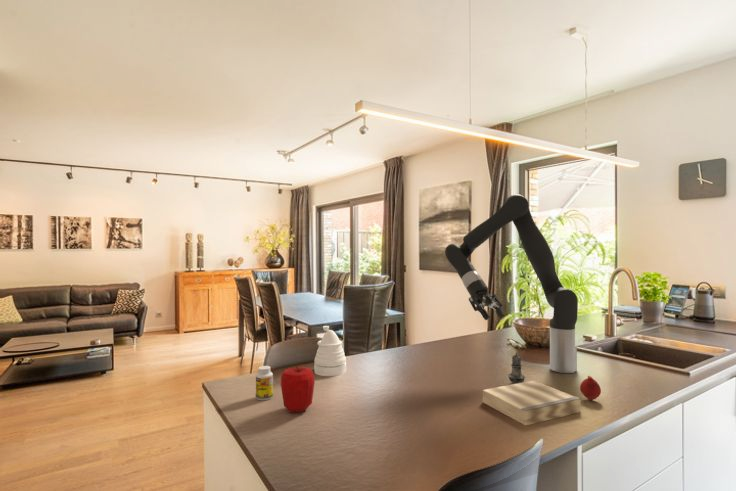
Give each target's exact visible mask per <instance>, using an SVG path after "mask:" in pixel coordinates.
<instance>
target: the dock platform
mask: <svg viewBox="0 0 736 491" xmlns="http://www.w3.org/2000/svg"><path fill="white" fill-rule="evenodd" d="M482 403H483V404H485V405H487V406H489V407H490V408H493V409H494V410H496V411H498V412H499V413H502V414H503V415H505V416H507V417H509V418H511V419H513V420H514V421H516V422H518V423H521V424H522V425H523V426H529V425H530V426H531V425H534V424H538V423H542V422H545V421H549V420H554V419H558V418H561V417H566V416H570V415H574V414H579V413H581V398H580V397H578V396H575V395H573V394H569V393H567V392H565V391H561V390H559V389H557V388H554V387H551V386H549V385H547V384H544V383H542V382H540V381H539V382H538V381H536V380H535V379H534V380H528V381H524V382H523V383H517V384H512V385H509V384H507V385H503V386H497V387H491V388H486V389H482Z"/></svg>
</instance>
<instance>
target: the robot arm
mask: <svg viewBox="0 0 736 491" xmlns="http://www.w3.org/2000/svg"><path fill="white" fill-rule="evenodd" d="M529 206H530V205H529V201H528V199H527V197H525V196H523V194H522V195H521V194H512V195H509V196H508V197H507V198H506V199H505V201H504V204H502V206H501V207H500V208H499V209H498V210H497V211H496V212H495V213H494V214H492V215H491V216H490V217H489V218H487V219H485V220H484V221H483V222H481V223H480V224H478V225H477V226H476V227H474V228H473V229H472V230H470V231H469V232H468V233H467V234H466V235H464V236H463V238H462V243H461V245H458V244H455V243H450V244H448V245H447V246H446V247H445V250H444V256H445V257H446V259H447V260H448V262H449V263H450V265H451V266H452V267H453V268H454V270H456V272H457V274H458V276H459V278H460V279H461V281H462V283H463V285H464V288H465V289H466V292H468V294H469V296H470V297H468V302H469V303H470V305H471V307H472V309H473V310H474V312H477V311H478V313H480V314H481V317H482V318H483V319H484V320H485V321H488V320H489V319H490V318H491V317H490V315H489V314H488V311H487V309H485V307H488V308H489V309H492V310H494V311H495V313H496V314H497V316H498V318H499V319H501V320H502V319H503V318H505V313H504V312H503V310H502V307H503V306H504V305H503V303H502V302H501V300H500V299H499V298H498V296H497V294H496V293H492V294H490V293H489V287H488V286H487V285H486V283H485V280H483V278H482V277H481V274H480V273H478V271H477V270H476V268H475V267H474V264H472V263H471V261H469V260H468V259H469V257H470V256H471V255H472V254H473V252H474V251H475V250H476V249H477V248H479V247H480V246H481V245H483V244H484V243H485V242H486V241H488V240H489V239H490V238H491V237H492V236H494V234H496V233H497V232H498V231H500V230H501V229H502V228H504V227H505V226H506V225H508V224H509V223H511V222H513V225H514V227H515V228H516V231H517V233H518V236H519V240H520V242H521V245H522V247H523V250H524V252H525V255H526V257H527V259H528V261H529V263H530V264H531V267H532V270H533V271H534V273H535V275H536V276H537V278H538V280H539V283H540V285H541V287H542V288H541V289H542V291H543V293H544V296H545V299H546V301H547V303H548V305H549V306H550V307H551V308H552V309H553V316H552V318H551V319H549V369H550V370H551V371H553V372H557V373H560V374H574V373H576V371H577V370H578V356H577V355H578V348H577V346H576V323H577V322H578V311H579V310H578V309H579V307H578V306H579V302H578V297H577V294H576V293H575V292H574V291H573V290H571V289H569V288H565V286H564V285H563V284H562V282H561V281H560V279H559V277H558V275H557V271H556V264H555V258H554V254H553V252H552V249H551V247H550V246H549V243H548V242H547V240H546V238H545V236H544V235H543V233H542V232H541V230H540V229H539V226H537V224H536V223H535V220H534V219H533V217H532V214H531V210H530V208H529Z"/></svg>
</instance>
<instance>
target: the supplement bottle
mask: <svg viewBox="0 0 736 491" xmlns="http://www.w3.org/2000/svg"><path fill="white" fill-rule="evenodd" d="M257 369H258V370H257V371H258V372H256V374H255V399H256V400H259V401H269V400H271V399H272V398H273V396H274V389H273V388H274V374H273V372H272V371H271V366H269V365H261V366H259V367H258V368H257Z"/></svg>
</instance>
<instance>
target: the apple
mask: <svg viewBox="0 0 736 491" xmlns="http://www.w3.org/2000/svg"><path fill="white" fill-rule="evenodd" d="M314 374H315V372H313V370H312V369H310V368H309V367H305V366H303V367H302V366H299V367H298V366H295V367H291V368H290V367H288V368H287V369H284V371H283V373H282V374H281V375H280V376H281V377H280V388H281V394H282V400H283V401H282V402H283V407H284V408H285V409H286V410H287V411H288V412H290V413H301V412H304V411H306V410H307V409H308V408H309V407H310V406H311V405H312V403H313V396H314V391H315V390H314V389H315V375H314Z"/></svg>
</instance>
